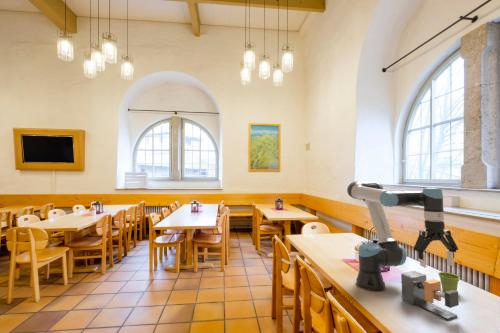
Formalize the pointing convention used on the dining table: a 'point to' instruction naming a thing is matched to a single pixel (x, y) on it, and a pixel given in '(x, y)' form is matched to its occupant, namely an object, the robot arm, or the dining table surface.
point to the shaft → (447, 296)
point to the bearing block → (420, 295)
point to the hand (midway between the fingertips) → (436, 265)
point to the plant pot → (448, 281)
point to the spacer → (430, 287)
